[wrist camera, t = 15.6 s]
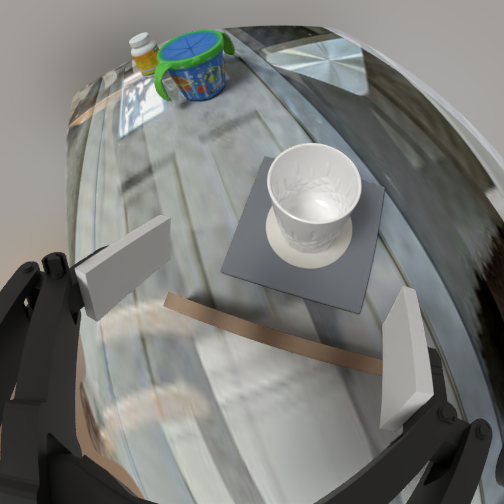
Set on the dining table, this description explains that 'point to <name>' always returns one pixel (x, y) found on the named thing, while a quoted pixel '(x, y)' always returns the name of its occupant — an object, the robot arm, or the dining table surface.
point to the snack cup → (194, 63)
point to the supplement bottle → (144, 54)
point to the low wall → (274, 336)
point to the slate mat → (306, 264)
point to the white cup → (312, 195)
